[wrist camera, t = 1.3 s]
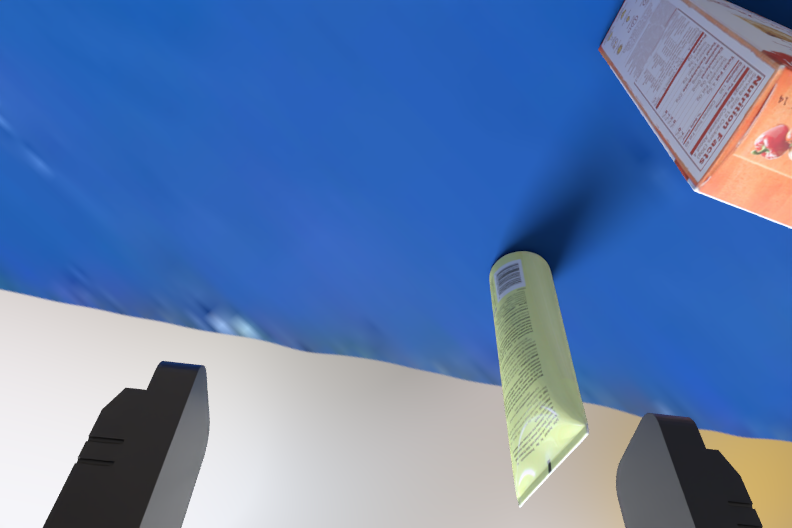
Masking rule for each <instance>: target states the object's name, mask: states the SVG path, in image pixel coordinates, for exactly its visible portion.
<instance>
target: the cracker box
mask: <svg viewBox="0 0 792 528" xmlns="http://www.w3.org/2000/svg"><path fill="white" fill-rule="evenodd" d="M599 52H600V53H601V54H602V56H603V57H604V59H605V60H606V61H607V63H608V64H609V66H610V68H611V69H612V71H613V72H614V73H615V75H616V76H617V78H618V79H619V81H620V82H621V84H622V85H623V87H624V88H625V90H626V91H627V93H628V94H629V96H630V97H631V99H632V100H633V101H634V103H635V104H636V106H637V107H638V109H639V110H640V112H641V113H642V115H643V116H644V118H645V119H646V121H647V122H648V124H649V125H650V127H651V128H652V130H653V131H654V133H655V134H656V135H657V137H658V138H659V140H660V141H661V143H662V144H663V146H664V147H665V149H666V150H667V152H668V153H669V155H670V156H671V158H672V159H673V161H674V162H675V164H676V165H677V167H678V168H679V170H680V171H681V173H682V174H683V176H684V177H685V179H686V180H687V182H688V183H689V184H690V186H691V187H692V189H693V190H694V191H695V192H698V193H700V194H703V195H706V196H708V197H711V198H713V199H716V200H719V201H721V202H724V203H727V204H729V205H732V206H734V207H737V208H740V209H742V210H745V211H748V212H750V213H753V214H755V215H758V216H760V217H763V218H765V219H768V220H770V221H773V222H776V223H778V224H781V225H784V226H786V227H789V228H791V229H792V29H789V28H787V27H785V26H783V25H780V24H778V23H776V22H773V21H771V20H769V19H767V18H764V17H762V16H760V15H758V14H755V13H753V12H751V11H749V10H746V9H744V8H742V7H739V6H737V5H735V4H733V3H730V2H728V1H726V0H625V1H624V3H623V5H622V7H621V9H620V10H619V12H618V14H617V16H616V18H615V20H614V22H613V24H612V25H611V27H610V29H609V31H608V33H607V34H606V36H605V38H604V40H603V42H602V44H601V46H600V47H599Z"/></svg>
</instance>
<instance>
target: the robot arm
mask: <svg viewBox="0 0 792 528" xmlns="http://www.w3.org/2000/svg"><path fill="white" fill-rule="evenodd" d="M209 423H210V421H209V406H208V391H207V377H206V369H205V366H203V365H194V364H184V363H175V362H167V361H162V362H160V363H159V365H158V366H157V368H156V370H155V372H154V375H153V377H152V379H151V381H150V384H149V386H148V388H147V390H142V389H133V388H125V389H124V390H123V391H122V392H121V393H120V394H118V395H117V396H116V397H115V398H114V399H113V400H112V401H111V402H110V403H109V404H108V405H107V406H105V407H104V408H103V409H102V411H101V413H100V415H99V417H98V419H97V421H96V423H95V425H94V427H93V429H92V431H91V433H90V435H89V439H88V441H86V443H85V445H84V447H83V449H82V451H81V453H80V455H79V456H78V461H77V463H76V464H75V465H74V466H73V468H72V470H71V473H70V474H69V476H68V478H67V480H66V482H65V484H64V486H63V488H62V490H61V492H60V494H59V496H58V498H57V501H56V503H55V504H54V507H53V508H52V510H51V512H50V514H49V516H48V518H47V520H46V522H45V524H44V526H43V528H181V527H182V523H183V520H184V517H185V514H186V511H187V508H188V504H189V501H190V498H191V495H192V492H193V489H194V486H195V483H196V480H197V476H198V474H199V470H200V467H201V464H202V461H203V458H204V455H205V451H206V447H207V441H208V435H209ZM616 490H617V496H618V500H619V504H620V508H621V512H622V516H623V520H624V523H625V527H626V528H762V524H761V522H760V519H759V517H758V515H757V513H756V511H755V509H753V508H752V504H753V503H752V501H751V499H750V497H749V495H748V492H747V490H746V488H745V485H744V483H743V481H742V479H741V476H740V475H739V474H738V473H737V471H736V470H735V469H734V468H733V467H732V466H731V464H730V463H729V462H728V461H727V460H726V459H725V457H724V456H723V455H722V454H721V453H720V452H719V450H712V449H706V448H705V445H704V443H703V440H702V438H701V435H700V433H699V430H698V428H697V426H696V424H695V422H694V421H693V420H692V419H691V418H688V417H680V416H671V415H662V414H653V413H647V414H646V415H644V417H643V418H642V420H641V422H640V423H639V425H638V427H637V430H636V431H635V433H634V435H633V437H632V439H631V441H630V443H629V445H628V447H627V449H626V451H625V453H624V455H623V457H622V459H621V461H620V463H619V466H618V469H617V476H616Z"/></svg>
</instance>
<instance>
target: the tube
mask: <svg viewBox="0 0 792 528" xmlns="http://www.w3.org/2000/svg"><path fill="white" fill-rule="evenodd" d="M489 279H490V289H491V298H492V307H493V315H494V324H495V332H496V340H497V348H498V356H499V365H500V373H501V381H502V389H503V397H504V405H505V414H506V422H507V429H508V438H509V446H510V454H511V461H512V469H513V476H514V483H515V489H516V495H517V499H518V503H519V507H521V506H522V505H523V504H524V503H525V502H526V501H527V500H528V498H529V497H530V496H531V495H532V494H533V493H534V492H535V491H536V489H538V487H539V486H540V485H541V484H542V483H543V482H544V481H545V480H546V479H547V478H548V476H550V474H551V473H552V472H553V471H554V470H555V469H556V468H557V467H558V466H559V465H560V464H561V463H562V462H563V461H564V460H565V459H566V458H567V457H568V456H569V454H570V453H571V452H572V451H573V450H574V449H575V448H576V447H577V446H578V445H579V444H580V443H581V442H582V441H583V440H584V439H585V438H586V437H587V435H588V434H589V430H588V423H587V419H586V415H585V411H584V407H583V403H582V399H581V396H580V392H579V388H578V384H577V379H576V375H575V371H574V367H573V363H572V358H571V354H570V350H569V345H568V341H567V337H566V333H565V329H564V325H563V320H562V316H561V312H560V308H559V303H558V299H557V295H556V291H555V286H554V282H553V278H552V274H551V270H550V267H549V265H548V263H547V262H546V261H545V260H544V259H543V258H542V257H541V256H539V255H537V254H535V253H532V252H528V251H517V252H513V253H509V254H507V255H505V256H503V257H502V258H500V259H499V260H498V261H497V262H496V263H495V264H494V266H493V267H492V269H491V272H490V278H489Z"/></svg>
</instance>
